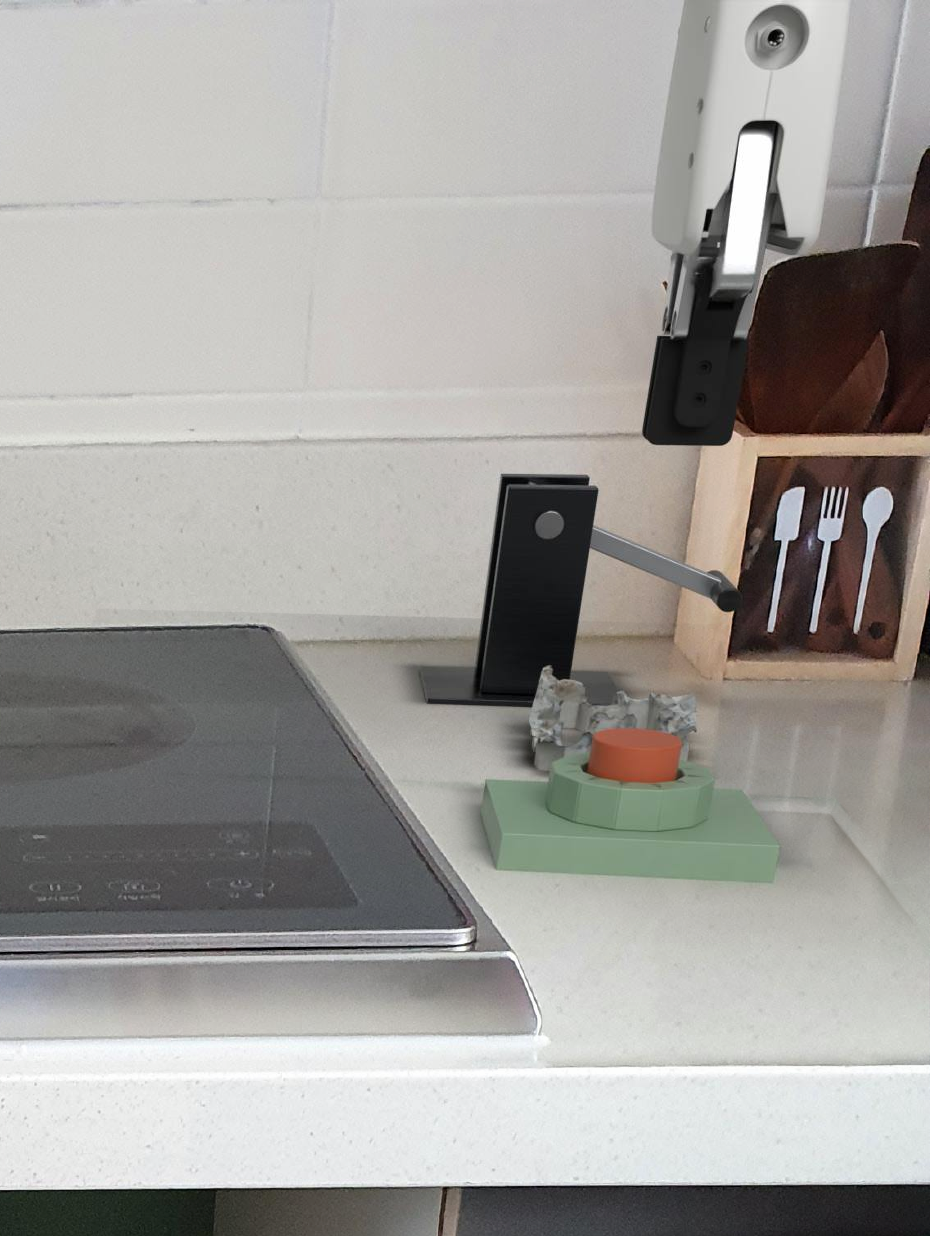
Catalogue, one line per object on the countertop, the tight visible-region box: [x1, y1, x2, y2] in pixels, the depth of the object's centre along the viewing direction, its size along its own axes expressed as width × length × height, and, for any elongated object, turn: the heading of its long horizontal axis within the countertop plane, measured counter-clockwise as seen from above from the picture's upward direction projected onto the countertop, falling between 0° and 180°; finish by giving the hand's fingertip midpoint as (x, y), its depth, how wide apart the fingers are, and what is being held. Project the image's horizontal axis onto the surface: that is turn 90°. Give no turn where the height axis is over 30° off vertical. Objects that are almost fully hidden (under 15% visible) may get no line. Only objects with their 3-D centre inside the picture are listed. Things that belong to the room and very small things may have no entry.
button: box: [587, 728, 682, 783], centre depth 98 cm, size 4×4×2 cm
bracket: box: [419, 473, 620, 708], centre depth 121 cm, size 10×8×12 cm
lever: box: [527, 482, 743, 613], centre depth 119 cm, size 12×6×2 cm, turn 76°
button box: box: [480, 753, 781, 884], centre depth 99 cm, size 11×9×4 cm
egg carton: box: [528, 665, 698, 772], centre depth 110 cm, size 11×8×4 cm
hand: (685, 441), depth 92 cm, fingers closed
